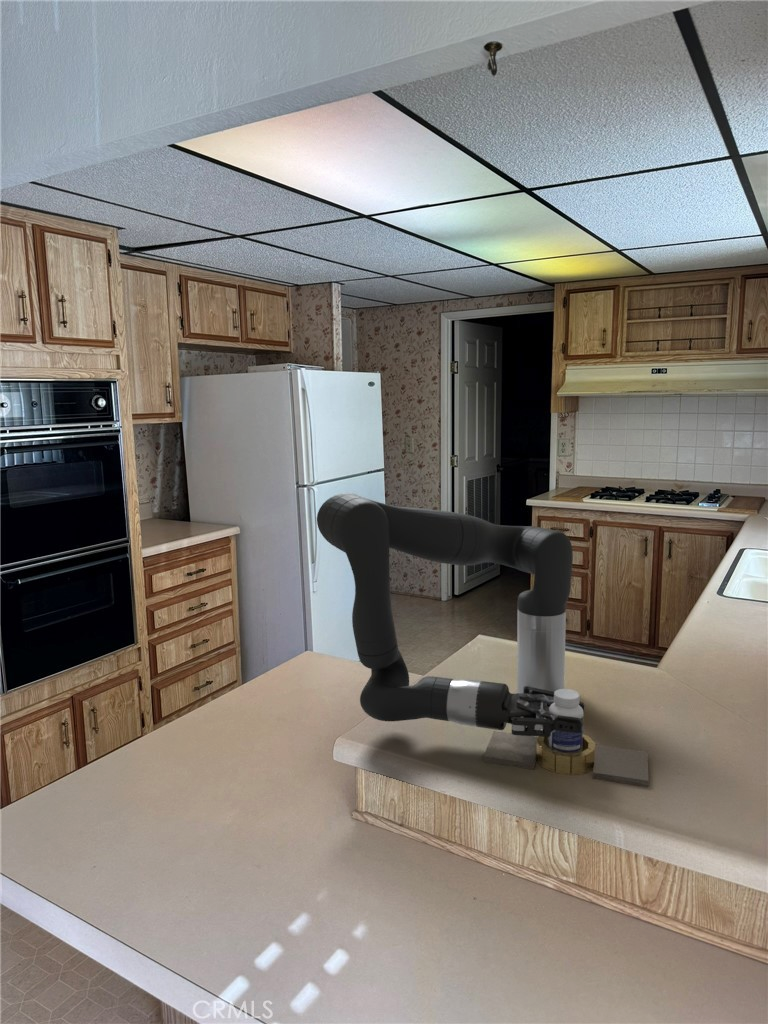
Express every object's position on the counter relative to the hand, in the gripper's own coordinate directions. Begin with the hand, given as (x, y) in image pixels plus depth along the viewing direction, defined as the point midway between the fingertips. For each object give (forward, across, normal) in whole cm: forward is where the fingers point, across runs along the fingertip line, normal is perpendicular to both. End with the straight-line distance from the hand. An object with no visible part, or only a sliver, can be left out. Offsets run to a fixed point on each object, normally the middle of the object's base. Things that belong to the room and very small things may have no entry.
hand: (582, 717), depth 111 cm
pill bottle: (-3, 0, +6) cm, 7 cm away
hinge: (-2, 0, +8) cm, 8 cm away
